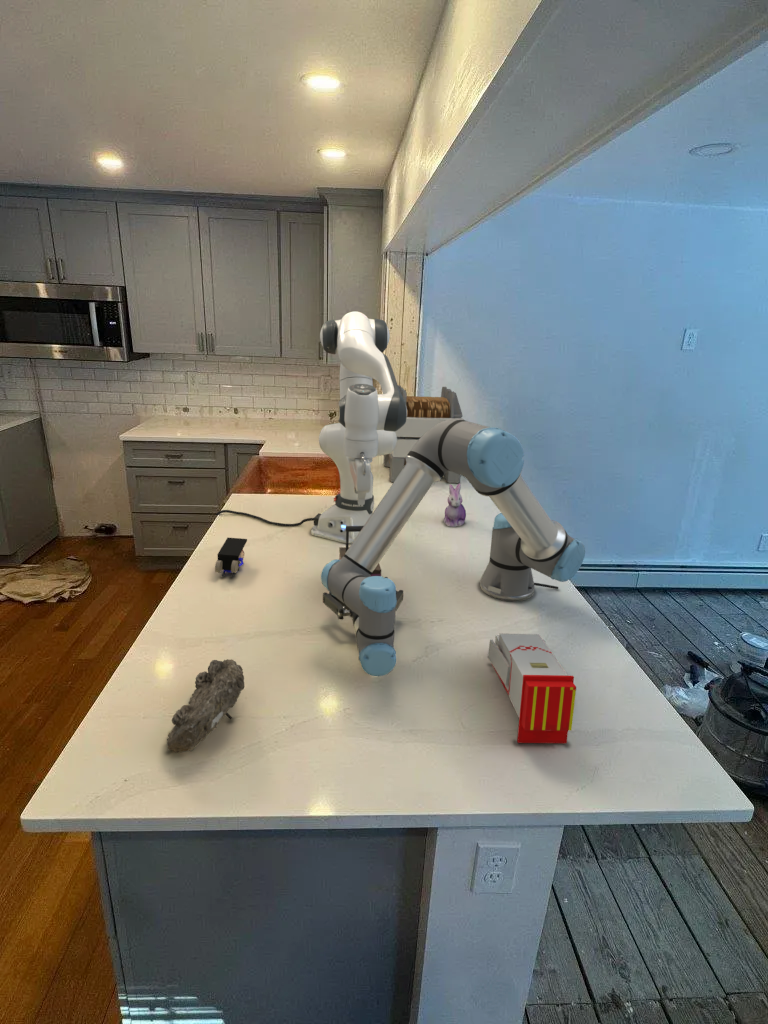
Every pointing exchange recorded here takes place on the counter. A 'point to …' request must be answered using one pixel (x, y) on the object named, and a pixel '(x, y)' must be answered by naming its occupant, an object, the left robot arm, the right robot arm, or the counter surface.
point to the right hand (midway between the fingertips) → (360, 582)
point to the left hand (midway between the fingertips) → (359, 498)
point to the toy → (534, 687)
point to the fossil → (206, 705)
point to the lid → (344, 549)
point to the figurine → (454, 508)
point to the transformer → (422, 427)
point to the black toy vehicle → (230, 556)
